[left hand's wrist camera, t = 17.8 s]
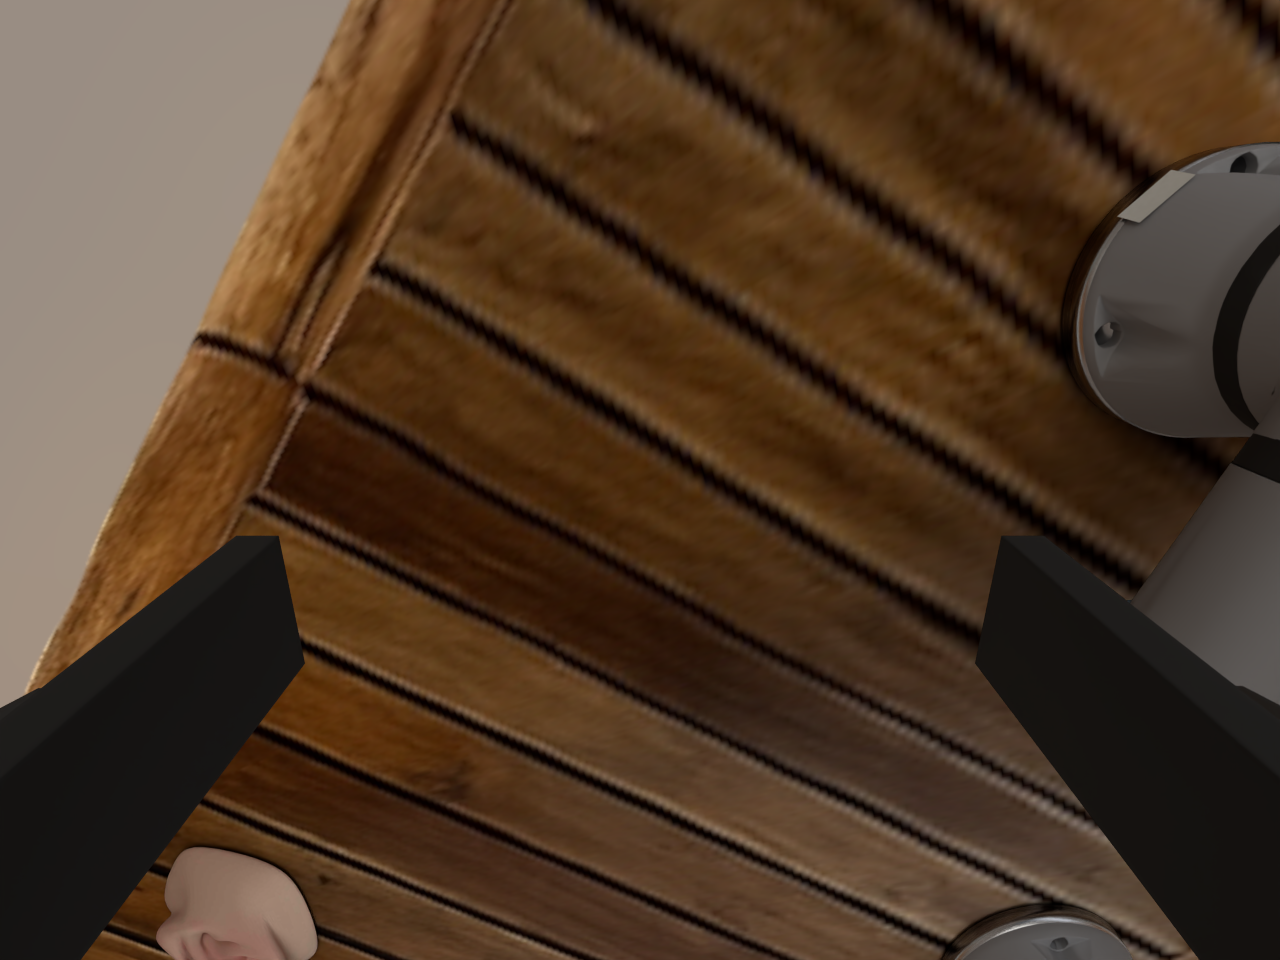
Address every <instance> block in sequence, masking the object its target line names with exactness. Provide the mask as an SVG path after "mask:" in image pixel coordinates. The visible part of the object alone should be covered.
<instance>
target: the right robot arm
mask: <svg viewBox="0 0 1280 960" xmlns="http://www.w3.org/2000/svg"><path fill="white" fill-rule="evenodd" d="M942 960H1133V959H1132V957H1131V954H1130V953H1129V951H1128V949H1127V948H1126V946H1125V945H1124V943H1123V942H1122V940H1121V939H1120V937H1119V936H1118V934H1117V933H1116V931H1115V930H1114V929H1113V928H1112V927H1111V926H1110V925H1109V924H1108V923H1107V922H1106V921H1105V920H1103V919H1102V918H1100V917H1099V916H1097V915H1095V914H1093V913H1091V912H1088V911H1086V910H1082V909H1079V908H1075V907H1071V906H1064V905H1032V906H1025V907H1020V908H1016V909H1012V910H1008V911H1005V912H1002V913H999V914H996V915H994V916H991V917H989V918H987V919H985V920H983V921H981V922H979V923H978V924H976V925H974V926H973V927H971V928H970V929H969V930H967V931H966V932H965V933H963V934H962V935H961V936H960V937H959V938H958V939H957V940H956V941H955V942H954V943H953V944H952V945H951V946H950V948H949V949H948V951H947V952H946V954H945V955H944V957H943V959H942Z"/></svg>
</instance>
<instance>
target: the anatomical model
mask: <svg viewBox="0 0 1280 960" xmlns="http://www.w3.org/2000/svg"><path fill="white" fill-rule="evenodd" d="M165 901H166V904H167V906H168V908H169V910H170V911H171V913H172V914H171V916H170V917H169V918H168V919H167V920H166V921H165V922H164V923H163V924H162V925H161V927H160V928H159V930H158V932H157V935H156V939H157V942H158V943H159V945H160V946H161V947H162V948H163V949H164V950H165V951H166V952H167V953H168V954H170V955H171V956H172V957H173V958H174V959H175V960H308V959H309V958H310V957H312V956H313V955H314V953H315V952H316V949H317V935H316V930H315V926H314V923H313V920H312V917H311V914H310V912H309V910H308V907H307V905H306V903H305V900H304V898H303V896H302V895H301V893H300V891H299V890H298V888H297V886H296V885H295V884H294V882H293V881H292V880H291V879H290V878H289V877H288V876H287V875H286V874H285V873H284V872H282V871H281V870H279V869H278V868H276V867H275V866H273V865H271V864H269V863H266V862H264V861H261V860H259V859H256V858H253V857H249V856H246V855H243V854H239V853H235V852H230V851H225V850H221V849H214V848H207V847H194V848H189V849H186V850H184V851H183V852H182V853H181V854H180V855H179V856H178V858H177V859H176V861H175V862H174V865H173V867H172V869H171V871H170V874H169V876H168V879H167V883H166V889H165Z"/></svg>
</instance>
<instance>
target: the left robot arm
mask: <svg viewBox="0 0 1280 960" xmlns="http://www.w3.org/2000/svg"><path fill="white" fill-rule="evenodd" d="M1062 336H1063V346H1064V351H1065V355H1066V359H1067V362H1068V365H1069V368H1070V370H1071V373H1072V375H1073V377H1074V379H1075V381H1076V382H1077V384H1078V385H1079V387H1080V389H1081V390H1082V391H1083V392H1084V394H1085V395H1086V396H1087V397H1088V398H1089V399H1090V400H1091V401H1092V402H1093V403H1094V404H1095V405H1096V406H1097V407H1099V408H1100V409H1101V410H1103V411H1104V412H1106V413H1107V414H1109V415H1111V416H1113V417H1114V418H1116V419H1119V420H1121V421H1124V422H1126V423H1128V424H1131V425H1133V426H1136V427H1138V428H1140V429H1143V430H1145V431H1148V432H1151V433H1155V434H1158V435H1164V436H1169V437H1181V438H1194V437H1250V438H1249V439H1248V441H1247V442H1246V444H1245V445H1244V446H1243V448H1242V449H1241V451H1240V452H1239V453H1238V455H1237V456H1236V458H1235V459H1234V460H1233V461H1232V463H1230V465H1229V466H1228V467H1227V469H1226V470H1225V472H1224V473H1223V474H1222V476H1221V477H1220V479H1219V480H1218V481H1217V483H1216V484H1215V486H1214V487H1213V488H1212V490H1211V491H1210V492H1209V494H1208V495H1207V497H1206V498H1205V499H1204V501H1203V502H1202V504H1201V505H1200V506H1199V508H1198V509H1197V511H1196V512H1195V513H1194V515H1193V516H1192V518H1191V519H1190V520H1189V522H1188V523H1187V524H1186V526H1185V527H1184V529H1183V530H1182V531H1181V533H1180V534H1179V536H1178V537H1177V538H1176V540H1175V541H1174V543H1173V544H1172V545H1171V547H1170V548H1169V550H1168V551H1167V552H1166V554H1165V555H1164V557H1163V558H1162V559H1161V561H1160V562H1159V563H1158V565H1157V566H1156V568H1155V569H1154V570H1153V572H1152V573H1151V575H1150V576H1149V577H1148V579H1147V580H1146V582H1145V583H1144V584H1143V586H1142V587H1141V589H1140V590H1139V591H1138V593H1137V594H1136V596H1135V597H1134V598H1133V600H1127V601H1126V600H1125V599H1124V598H1123V597H1121V596H1120V595H1119V594H1118V593H1116V592H1115V591H1114V590H1112V589H1111V588H1110V587H1109V586H1107V585H1106V584H1105V583H1103V582H1102V581H1101V580H1100V579H1098V578H1097V577H1096V576H1094V575H1093V574H1092V573H1091V572H1089V571H1088V570H1087V569H1086V568H1084V567H1083V566H1082V565H1080V564H1079V563H1078V562H1077V561H1075V560H1074V559H1073V558H1071V557H1070V556H1069V555H1068V554H1066V553H1065V552H1064V551H1062V550H1061V549H1060V548H1059V547H1057V546H1056V545H1055V544H1053V543H1052V542H1051V541H1050V540H1048V539H1047V538H1046V537H1045V536H1001V541H1000V545H999V550H998V555H997V560H996V565H995V570H994V574H993V579H992V584H991V589H990V594H989V599H988V604H987V608H986V613H985V618H984V623H983V628H982V633H981V637H980V642H979V647H978V652H977V657H976V662H975V664H976V665H977V667H978V668H979V669H980V671H981V672H982V673H983V674H984V676H985V677H986V678H987V680H988V681H989V682H990V684H991V685H992V686H993V688H994V689H995V690H996V692H997V693H998V694H999V696H1000V697H1001V698H1002V700H1003V701H1004V702H1005V704H1006V705H1007V706H1008V708H1009V709H1010V710H1011V711H1012V713H1013V714H1014V715H1015V717H1016V718H1017V719H1018V721H1019V722H1020V723H1021V725H1022V726H1023V727H1024V729H1025V730H1026V731H1027V733H1028V734H1029V735H1030V737H1031V738H1032V739H1033V741H1034V742H1035V743H1036V745H1037V746H1038V747H1039V748H1040V750H1041V751H1042V752H1043V754H1044V755H1045V756H1046V758H1047V759H1048V760H1049V762H1050V763H1051V764H1052V766H1053V767H1054V768H1055V770H1056V771H1057V772H1058V774H1059V775H1060V776H1061V778H1062V779H1063V780H1064V781H1065V783H1066V784H1067V785H1068V787H1069V788H1070V789H1071V791H1072V792H1073V793H1074V795H1075V796H1076V797H1077V799H1078V800H1079V801H1080V803H1081V804H1082V805H1083V807H1084V808H1085V809H1086V811H1087V812H1088V813H1089V815H1090V816H1091V817H1092V818H1093V820H1094V821H1095V822H1096V824H1097V825H1098V826H1099V828H1100V829H1101V830H1102V832H1103V833H1104V834H1105V836H1106V837H1107V838H1108V840H1109V841H1110V842H1111V844H1112V845H1113V846H1114V848H1115V849H1116V850H1117V852H1118V853H1119V854H1120V855H1121V857H1122V858H1123V859H1124V861H1125V862H1126V863H1127V865H1128V866H1129V867H1130V869H1131V870H1132V871H1133V873H1134V874H1135V875H1136V877H1137V878H1138V879H1139V881H1140V882H1141V883H1142V885H1143V886H1144V887H1145V889H1146V890H1147V891H1148V892H1149V894H1150V895H1151V896H1152V898H1153V899H1154V900H1155V902H1156V903H1157V904H1158V906H1159V907H1160V908H1161V910H1162V911H1163V912H1164V914H1165V915H1166V916H1167V918H1168V919H1169V920H1170V922H1171V923H1172V924H1173V926H1174V927H1175V928H1176V929H1177V931H1178V932H1179V933H1180V935H1181V936H1182V937H1183V939H1184V940H1185V941H1186V943H1187V944H1188V945H1189V947H1190V948H1191V949H1192V951H1193V952H1194V953H1195V955H1196V956H1197V957H1198V959H1199V960H1280V142H1262V143H1254V144H1246V145H1238V146H1230V147H1222V148H1217V149H1212V150H1208V151H1204V152H1201V153H1198V154H1195V155H1192V156H1189V157H1187V158H1184V159H1182V160H1180V161H1177V162H1175V163H1173V164H1171V165H1170V166H1168V167H1166V168H1164V169H1162V170H1160V171H1159V172H1157V173H1156V174H1154V175H1152V176H1151V177H1149V178H1148V179H1146V180H1145V181H1144V182H1142V183H1141V184H1140V185H1138V186H1137V187H1136V188H1134V189H1133V190H1132V191H1131V192H1130V193H1129V194H1128V195H1127V196H1125V197H1124V198H1123V199H1122V200H1121V201H1120V202H1119V203H1118V204H1117V205H1116V206H1115V207H1114V208H1113V209H1112V210H1111V211H1110V213H1109V214H1108V215H1107V216H1106V217H1105V219H1104V220H1103V221H1102V222H1101V223H1100V225H1099V226H1098V228H1097V229H1096V230H1095V232H1094V233H1093V235H1092V236H1091V238H1090V239H1089V241H1088V243H1087V244H1086V246H1085V248H1084V249H1083V251H1082V253H1081V255H1080V257H1079V259H1078V261H1077V263H1076V266H1075V268H1074V271H1073V273H1072V276H1071V278H1070V282H1069V285H1068V289H1067V292H1066V297H1065V302H1064V307H1063V317H1062ZM304 664H305V662H304V657H303V652H302V647H301V642H300V637H299V633H298V628H297V623H296V618H295V613H294V608H293V604H292V599H291V594H290V589H289V584H288V579H287V575H286V570H285V565H284V560H283V555H282V550H281V545H280V541H279V536H235V537H234V538H233V539H232V540H230V541H229V542H228V543H227V544H225V545H224V546H223V547H221V548H220V549H219V550H218V551H216V552H215V553H214V554H212V555H211V556H210V557H209V558H207V559H206V560H205V561H203V562H202V563H201V564H200V565H198V566H197V567H196V568H194V569H193V570H192V571H191V572H189V573H188V574H187V575H186V576H184V577H183V578H182V579H180V580H179V581H178V582H177V583H175V584H174V585H173V586H171V587H170V588H169V589H168V590H166V591H165V592H164V593H162V594H161V595H160V596H159V597H157V598H156V599H155V600H154V601H152V602H151V603H150V604H148V605H147V606H146V607H145V608H143V609H142V610H141V611H139V612H138V613H137V614H136V615H134V616H133V617H132V618H130V619H129V620H128V621H127V622H125V623H124V624H123V625H121V626H120V627H119V628H118V629H116V630H115V631H114V632H113V633H111V634H110V635H109V636H107V637H106V638H105V639H104V640H102V641H101V642H100V643H98V644H97V645H96V646H95V647H93V648H92V649H91V650H89V651H88V652H87V653H86V654H84V655H83V656H82V657H81V658H79V659H78V660H77V661H75V662H74V663H73V664H72V665H70V666H69V667H68V668H66V669H65V670H64V671H63V672H61V673H60V674H59V675H57V676H56V677H55V678H54V679H52V680H51V681H50V682H48V683H47V684H46V685H45V686H43V687H42V688H38V689H36V690H34V691H32V692H30V693H28V694H26V695H24V696H22V697H21V698H19V699H17V700H15V701H13V702H11V703H9V704H7V705H5V706H3V707H1V708H0V960H81V959H82V957H83V956H84V955H85V953H86V952H87V951H88V949H89V948H90V947H91V945H92V944H93V943H94V941H95V940H96V939H97V937H98V936H99V935H100V933H101V932H102V931H103V929H104V928H105V927H106V926H107V924H108V923H109V922H110V920H111V919H112V918H113V916H114V915H115V914H116V912H117V911H118V910H119V908H120V907H121V906H122V904H123V903H124V902H125V900H126V899H127V898H128V896H129V895H130V894H131V892H132V891H133V890H134V889H135V887H136V886H137V885H138V883H139V882H140V881H141V879H142V878H143V877H144V875H145V874H146V873H147V871H148V870H149V869H150V867H151V866H152V865H153V863H154V862H155V861H156V859H157V858H158V857H159V855H160V854H161V853H162V852H163V850H164V849H165V848H166V846H167V845H168V844H169V842H170V841H171V840H172V838H173V837H174V836H175V834H176V833H177V832H178V830H179V829H180V828H181V826H182V825H183V824H184V822H185V821H186V820H187V818H188V817H189V816H190V815H191V813H192V812H193V811H194V809H195V808H196V807H197V805H198V804H199V803H200V801H201V800H202V799H203V797H204V796H205V795H206V793H207V792H208V791H209V789H210V788H211V787H212V785H213V784H214V783H215V781H216V780H217V779H218V778H219V776H220V775H221V774H222V772H223V771H224V770H225V768H226V767H227V766H228V764H229V763H230V762H231V760H232V759H233V758H234V756H235V755H236V754H237V752H238V751H239V750H240V748H241V747H242V746H243V745H244V743H245V742H246V741H247V739H248V738H249V737H250V735H251V734H252V733H253V731H254V730H255V729H256V727H257V726H258V725H259V723H260V722H261V721H262V719H263V718H264V717H265V715H266V714H267V713H268V711H269V710H270V709H271V708H272V706H273V705H274V704H275V702H276V701H277V700H278V698H279V697H280V696H281V694H282V693H283V692H284V690H285V689H286V688H287V686H288V685H289V684H290V682H291V681H292V680H293V678H294V677H295V676H296V674H297V673H298V672H299V671H300V669H301V668H302V667H303V665H304Z"/></svg>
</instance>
